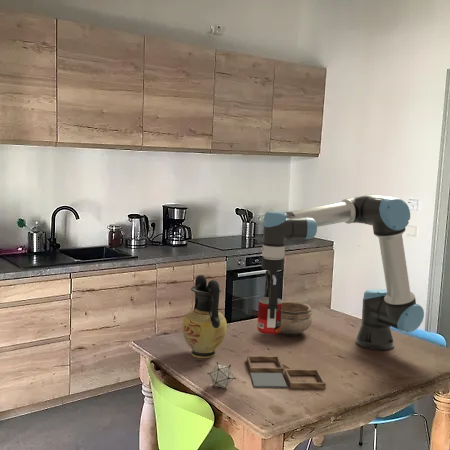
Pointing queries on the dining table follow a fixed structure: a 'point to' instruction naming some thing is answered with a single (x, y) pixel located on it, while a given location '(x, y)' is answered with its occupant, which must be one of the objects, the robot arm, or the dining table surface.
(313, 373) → the empty crate
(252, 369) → the frame
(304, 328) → the cooking pot
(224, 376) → the game die
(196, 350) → the amphora
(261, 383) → the slate board
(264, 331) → the canned food
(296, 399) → the dining table surface
